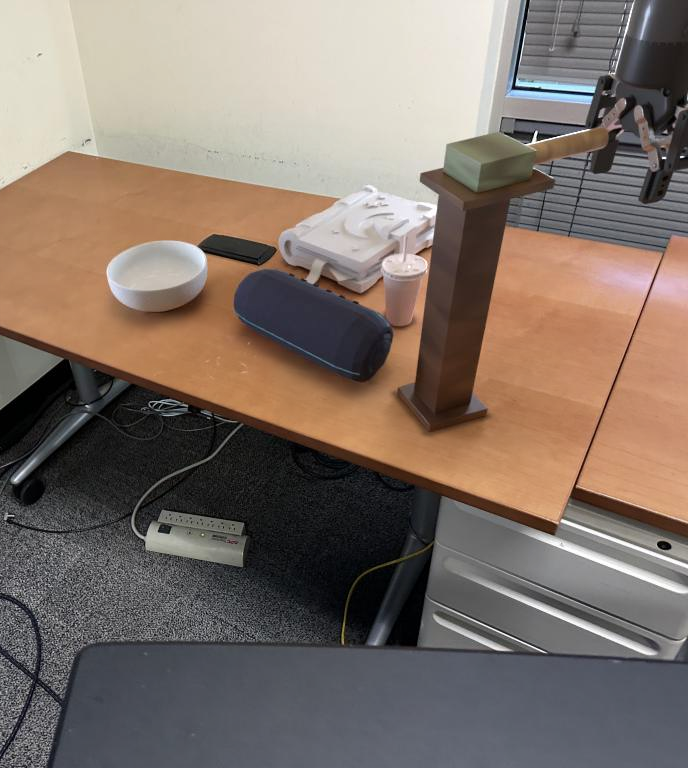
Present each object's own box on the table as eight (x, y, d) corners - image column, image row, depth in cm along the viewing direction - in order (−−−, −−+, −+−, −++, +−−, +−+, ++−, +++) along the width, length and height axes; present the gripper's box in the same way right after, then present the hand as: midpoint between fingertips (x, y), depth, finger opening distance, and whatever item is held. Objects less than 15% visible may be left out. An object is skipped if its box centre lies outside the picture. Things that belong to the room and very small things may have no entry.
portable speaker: (404, 368, 96) (410, 308, 89) (358, 403, 91) (362, 343, 85) (272, 305, 112) (270, 251, 105) (228, 333, 107) (223, 278, 101)
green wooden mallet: (577, 139, 74) (584, 110, 72) (619, 157, 69) (628, 128, 67) (442, 171, 72) (446, 143, 70) (476, 193, 67) (481, 164, 65)
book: (257, 272, 120) (255, 233, 115) (358, 212, 132) (360, 174, 128) (345, 311, 108) (347, 269, 103) (448, 241, 120) (453, 200, 115)
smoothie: (417, 306, 107) (426, 224, 98) (424, 330, 102) (435, 246, 93) (374, 308, 108) (380, 227, 99) (379, 332, 103) (386, 249, 94)
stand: (464, 374, 93) (505, 152, 74) (500, 411, 87) (555, 179, 67) (396, 393, 92) (420, 172, 72) (429, 432, 86) (464, 202, 66)
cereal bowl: (230, 290, 117) (227, 254, 112) (163, 339, 108) (157, 302, 104) (160, 264, 127) (154, 230, 122) (93, 307, 118) (85, 271, 114)
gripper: (767, 37, 61) (702, 206, 71) (657, 7, 72) (614, 157, 82) (687, 52, 61) (632, 219, 71) (589, 19, 72) (554, 168, 82)
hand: (623, 186), depth 77 cm, fingers open, 8 cm apart
